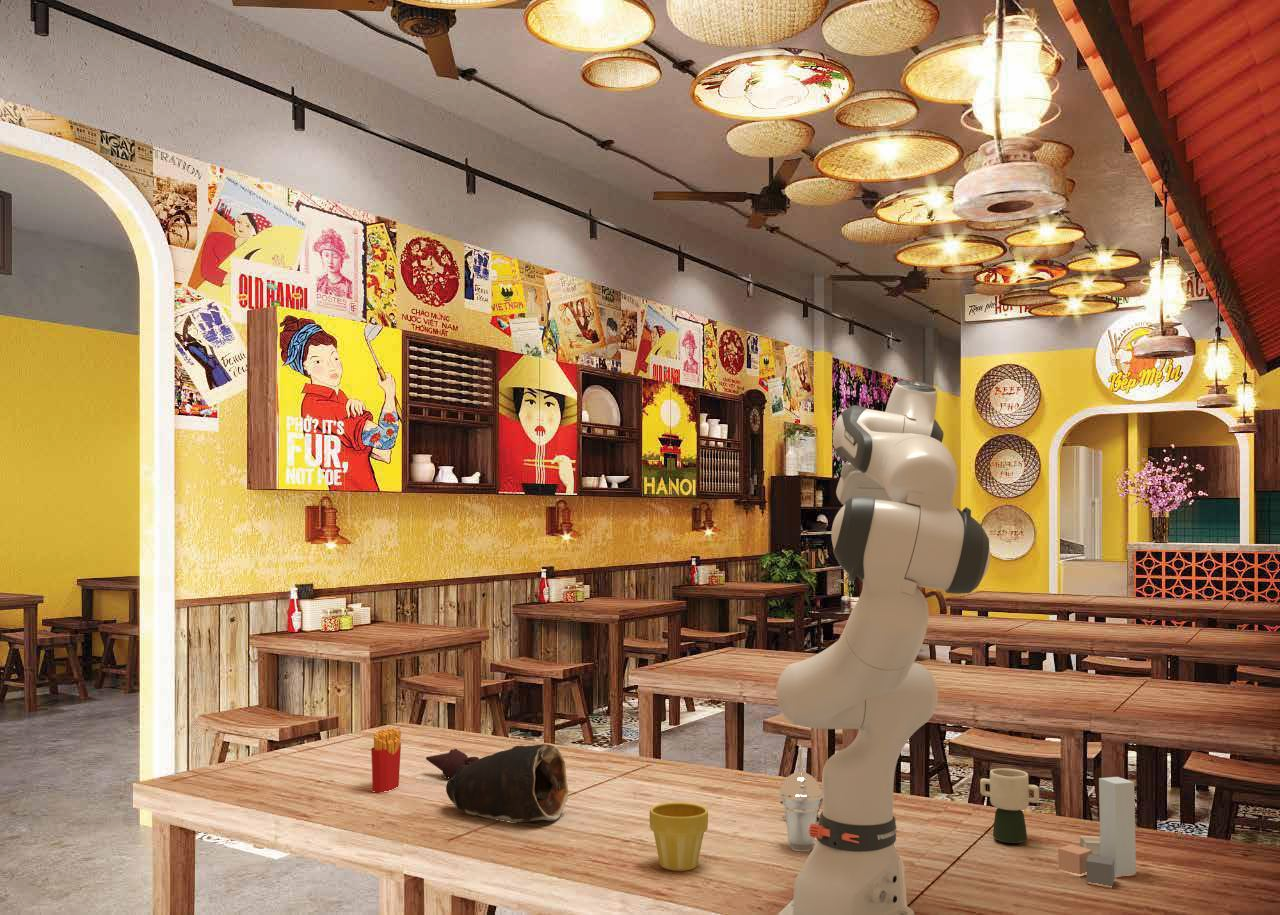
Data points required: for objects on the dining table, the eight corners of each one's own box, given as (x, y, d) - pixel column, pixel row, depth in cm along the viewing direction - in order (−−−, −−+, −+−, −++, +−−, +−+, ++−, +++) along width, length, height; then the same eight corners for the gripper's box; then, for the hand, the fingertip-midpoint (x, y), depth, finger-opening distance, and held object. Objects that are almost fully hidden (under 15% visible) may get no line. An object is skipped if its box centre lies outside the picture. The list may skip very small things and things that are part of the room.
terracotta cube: (1079, 878, 183) (1079, 854, 184) (1058, 871, 187) (1058, 848, 187) (1092, 873, 186) (1092, 850, 186) (1071, 867, 189) (1071, 844, 189)
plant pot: (673, 852, 196) (673, 798, 197) (719, 863, 190) (719, 808, 190) (637, 866, 188) (637, 810, 189) (684, 879, 182) (684, 821, 182)
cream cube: (1109, 866, 189) (1109, 843, 190) (1086, 865, 190) (1085, 842, 190) (1103, 859, 193) (1102, 836, 194) (1080, 857, 194) (1079, 835, 194)
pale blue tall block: (1136, 875, 184) (1134, 782, 185) (1116, 878, 183) (1115, 783, 184) (1119, 868, 188) (1117, 776, 189) (1100, 870, 187) (1098, 778, 188)
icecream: (416, 751, 249) (470, 763, 243) (434, 737, 256) (488, 749, 250) (418, 778, 251) (472, 791, 245) (436, 764, 257) (489, 776, 251)
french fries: (382, 794, 235) (383, 735, 236) (366, 792, 236) (367, 733, 237) (405, 784, 244) (406, 727, 244) (389, 783, 245) (390, 725, 246)
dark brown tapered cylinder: (458, 744, 232) (559, 731, 223) (473, 813, 232) (576, 803, 223) (421, 769, 218) (528, 756, 209) (438, 842, 218) (545, 832, 209)
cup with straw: (833, 847, 199) (832, 739, 200) (806, 858, 192) (806, 747, 193) (794, 838, 205) (794, 732, 206) (767, 848, 198) (767, 740, 199)
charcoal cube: (1112, 889, 178) (1112, 864, 178) (1086, 885, 180) (1086, 861, 180) (1114, 881, 181) (1114, 858, 182) (1089, 877, 183) (1088, 854, 184)
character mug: (1043, 841, 203) (1042, 772, 204) (1035, 851, 197) (1034, 780, 198) (985, 832, 209) (984, 765, 210) (976, 841, 203) (975, 772, 204)
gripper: (847, 466, 194) (834, 530, 201) (955, 472, 196) (938, 534, 203) (839, 449, 200) (826, 512, 206) (944, 455, 202) (928, 516, 208)
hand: (882, 523), depth 205 cm, fingers open, 8 cm apart
